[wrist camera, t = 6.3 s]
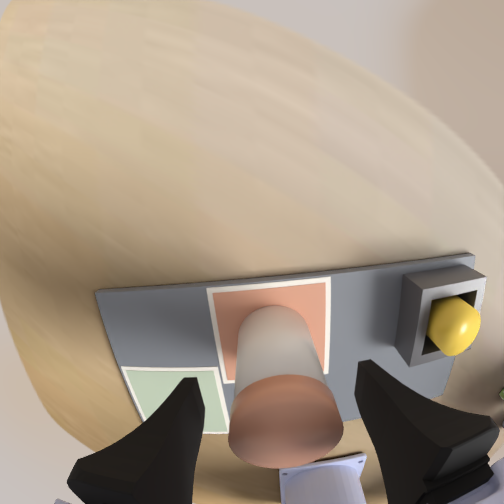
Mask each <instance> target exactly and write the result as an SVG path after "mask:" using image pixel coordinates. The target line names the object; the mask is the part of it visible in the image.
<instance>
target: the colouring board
mask: <svg viewBox="0 0 504 504" xmlns="http://www.w3.org/2000/svg"><path fill="white" fill-rule="evenodd" d="M474 263H475V255H473V254H471V253H467V254H460V255H453V256H446V257H438V258H431V259H423V260H416V261H408V262H400V263H392V264H384V265H375V266H367V267H358V268H349V269H340V270H331V271H321V272H312V273H302V274H292V275H282V276H271V277H261V278H249V279H238V280H226V281H214V282H202V283H189V284H175V285H161V286H146V287H131V288H114V289H99V290H98V291H97V292H95V296H96V300H97V303H98V307H99V310H100V313H101V317H102V320H103V323H104V326H105V329H106V332H107V335H108V338H109V341H110V344H111V347H112V350H113V352H114V355H115V358H116V361H117V363H118V366H119V368H120V371H121V374H122V376H123V379H124V381H125V383H126V386H127V388H128V391H129V393H130V395H131V398H132V400H133V402H134V404H135V407H136V409H137V411H138V413H139V415H140V417H141V419H142V421H143V422H144V421H145V420H147V419H148V418H149V417H150V416H151V415H152V414H153V413H154V412H155V411H156V410H157V408H158V407H159V406H160V405H161V404H162V403H163V402H164V401H165V399H166V398H167V397H168V396H169V395H170V394H171V392H172V391H173V390H174V389H175V387H176V386H177V385H178V384H179V382H180V381H181V380H182V379H183V378H184V377H197V379H198V383H199V387H200V391H201V394H202V398H203V402H204V405H205V421H204V429H203V434H229V423H230V410H231V405H232V403H233V400H234V388H235V374H236V360H237V345H238V333H239V328H240V326H241V324H242V322H243V321H244V319H245V318H246V317H247V316H248V315H249V314H251V313H252V312H254V311H255V310H257V309H259V308H262V307H266V306H273V305H278V306H285V307H288V308H291V309H293V310H295V311H297V312H298V313H299V314H300V315H301V316H302V317H303V318H304V319H305V321H306V323H307V325H308V328H309V331H310V334H311V337H312V340H313V343H314V346H315V349H316V352H317V355H318V358H319V361H320V364H321V367H322V370H323V373H324V376H325V379H326V382H327V385H328V388H329V389H330V390H331V391H332V393H333V395H334V398H335V401H336V404H337V407H338V410H339V413H340V416H341V419H342V422H344V421H349V420H354V419H359V418H361V415H360V413H359V410H358V407H357V403H356V399H355V396H354V391H355V383H356V376H357V368H358V361H363V360H369V359H371V360H373V361H374V362H375V363H376V364H378V365H379V366H380V367H381V368H383V369H384V370H385V371H386V372H388V373H389V374H390V375H392V376H393V377H394V378H396V379H397V380H398V381H400V382H401V383H403V384H404V385H406V386H407V387H409V388H410V389H412V390H414V391H415V392H417V393H419V394H420V395H422V396H424V397H426V398H428V399H432V398H435V397H437V396H440V395H443V392H444V390H445V387H446V384H447V381H448V378H449V375H450V372H451V369H452V366H453V362H454V359H455V356H456V355H455V356H448V357H445V358H441V359H438V360H435V361H431V362H428V363H424V364H421V365H417V366H413V367H410V368H409V367H408V365H407V364H406V362H405V361H404V360H403V358H402V357H401V355H400V354H399V353H398V351H397V350H396V349H395V347H394V344H395V338H396V331H397V324H398V316H399V308H400V299H401V289H402V277H403V274H406V273H413V272H420V271H427V270H433V269H440V268H446V267H452V266H459V265H466V266H468V267H470V268H472V269H474Z"/></svg>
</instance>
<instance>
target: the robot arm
mask: <svg viewBox="0 0 504 504" xmlns="http://www.w3.org/2000/svg"><path fill="white" fill-rule="evenodd" d="M354 396H355V399H356V403H357V407H358V410H359V413H360V415H361V418H362V420H363V422H364V424H365V427H366V429H367V431H368V433H369V436H370V438H371V440H372V443H373V445H374V447H375V450H376V453H377V456H378V460H379V463H380V467H381V471H382V475H383V479H384V484H385V489H386V494H387V499H388V504H504V457H503V458H501V459H500V460H498V461H497V462H495V463H494V464H493V465H492V466H491V467H490V466H489V465H488V462H489V461H490V458H489V457H488V455H487V453H488V452H489V450H490V449H491V447H492V446H493V444H494V443H495V441H496V440H497V438H498V435H499V432H500V430H499V428H498V426H497V425H496V424H495V423H494V421H493V420H492V419H491V417H490V416H485V415H478V414H472V413H467V412H463V411H459V410H456V409H453V408H450V407H447V406H444V405H442V404H439V403H437V402H434V401H432V400H430V399H428V398H426V397H424V396H422V395H420V394H419V393H417V392H415V391H414V390H412V389H410V388H409V387H407V386H406V385H404V384H403V383H401V382H400V381H398V380H397V379H396V378H394V377H393V376H392V375H390V374H389V373H388V372H386V371H385V370H384V369H383V368H381V367H380V366H379V365H378V364H376V363H375V362H374V361H373V360H371V359H369V360H363V361H358V368H357V376H356V383H355V391H354ZM204 421H205V405H204V402H203V398H202V394H201V391H200V387H199V383H198V379H197V377H184V378H183V379H182V380H181V381H180V382H179V384H178V385H177V386H176V387H175V389H174V390H173V391H172V392H171V394H170V395H169V396H168V397H167V398H166V399H165V401H164V402H163V403H162V404H161V405H160V406H159V407H158V408H157V410H156V411H155V412H154V413H153V414H152V415H151V416H150V417H149V418H148V419H147V420H145V421H144V422H143V423H142V424H141V425H140V426H139V427H137V428H136V429H135V430H134V431H132V432H131V433H129V434H128V435H126V436H125V437H123V438H122V439H120V440H119V441H117V442H116V443H114V444H112V445H110V446H108V447H106V448H104V449H102V450H100V451H98V452H96V453H93V454H91V455H88V456H86V457H83V458H80V459H78V460H77V462H76V463H75V465H74V467H73V469H72V471H71V473H70V476H69V477H68V480H67V484H68V486H69V488H70V489H71V490H72V491H73V492H74V493H75V494H76V495H77V496H78V497H79V498H80V499H81V500H82V501H83V502H84V503H85V504H192V495H193V481H194V471H195V465H196V461H197V456H198V452H199V447H200V443H201V438H202V434H203V429H204ZM366 458H367V456H366V454H365V453H361V454H357V455H352V456H347V457H342V458H337V459H332V460H326V461H320V462H314V463H308V464H304V465H301V466H296V467H290V468H279V477H280V491H281V504H366V500H365V497H364V493H363V490H362V487H361V483H360V480H359V478H360V475H361V472H362V470H363V467H364V464H365V461H366ZM54 504H70V503H68V502H65V501H63V500H60V499H56V501H55V503H54Z"/></svg>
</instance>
